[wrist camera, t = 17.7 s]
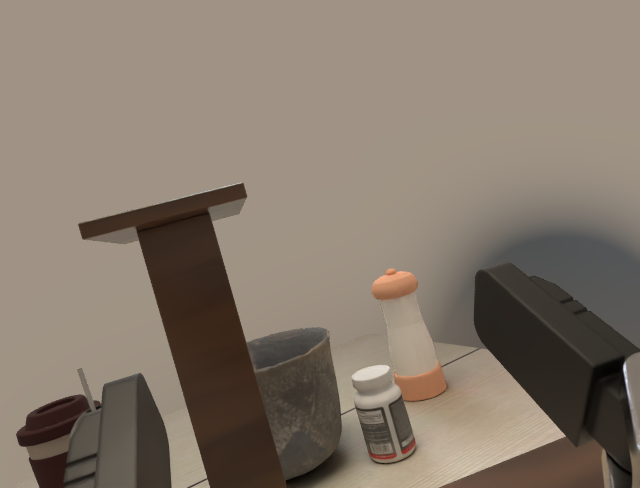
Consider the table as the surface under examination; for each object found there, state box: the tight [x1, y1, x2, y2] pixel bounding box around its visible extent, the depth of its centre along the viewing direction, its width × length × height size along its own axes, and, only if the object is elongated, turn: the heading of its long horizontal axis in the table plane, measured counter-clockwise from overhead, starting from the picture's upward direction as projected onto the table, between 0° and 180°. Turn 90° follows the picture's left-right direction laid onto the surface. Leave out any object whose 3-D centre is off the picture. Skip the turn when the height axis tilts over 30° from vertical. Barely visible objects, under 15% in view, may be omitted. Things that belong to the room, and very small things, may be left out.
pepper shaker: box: [372, 268, 447, 401], centre depth 76 cm, size 7×7×19 cm
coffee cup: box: [16, 395, 101, 488], centre depth 65 cm, size 10×10×15 cm
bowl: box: [246, 328, 342, 480], centre depth 64 cm, size 18×18×15 cm
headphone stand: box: [78, 183, 605, 488], centre depth 41 cm, size 13×41×32 cm, turn 102°
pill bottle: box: [352, 365, 416, 463], centre depth 60 cm, size 6×6×10 cm
